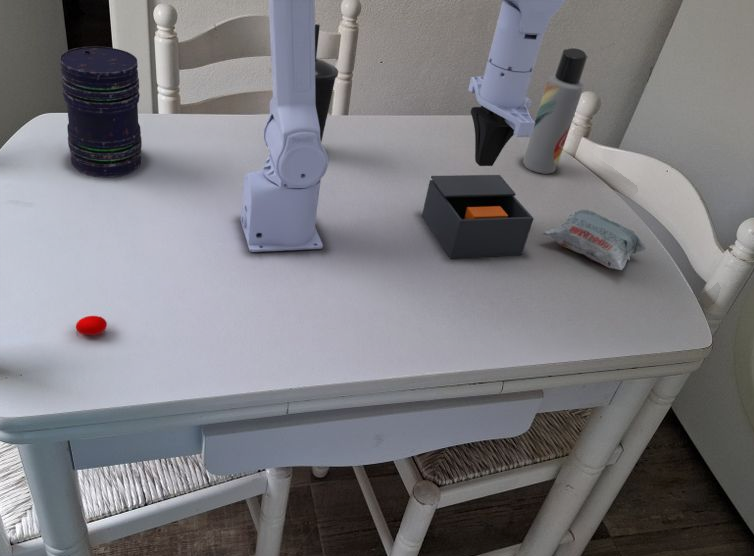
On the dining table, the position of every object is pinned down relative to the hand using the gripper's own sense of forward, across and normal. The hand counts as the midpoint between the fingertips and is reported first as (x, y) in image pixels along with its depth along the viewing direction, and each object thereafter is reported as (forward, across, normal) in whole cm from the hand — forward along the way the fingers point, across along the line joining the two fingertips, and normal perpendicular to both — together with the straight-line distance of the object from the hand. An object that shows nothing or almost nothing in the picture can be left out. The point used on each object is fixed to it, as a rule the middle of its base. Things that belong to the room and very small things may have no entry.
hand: (483, 163), depth 95 cm
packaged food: (+11, -8, -16) cm, 21 cm away
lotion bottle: (+11, +18, -22) cm, 31 cm away
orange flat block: (+10, -4, 0) cm, 11 cm away
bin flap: (+4, +1, 0) cm, 4 cm away
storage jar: (+11, +22, +48) cm, 54 cm away
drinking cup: (+11, +24, +18) cm, 32 cm away
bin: (+10, -2, 0) cm, 11 cm away
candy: (+11, -16, +50) cm, 54 cm away
